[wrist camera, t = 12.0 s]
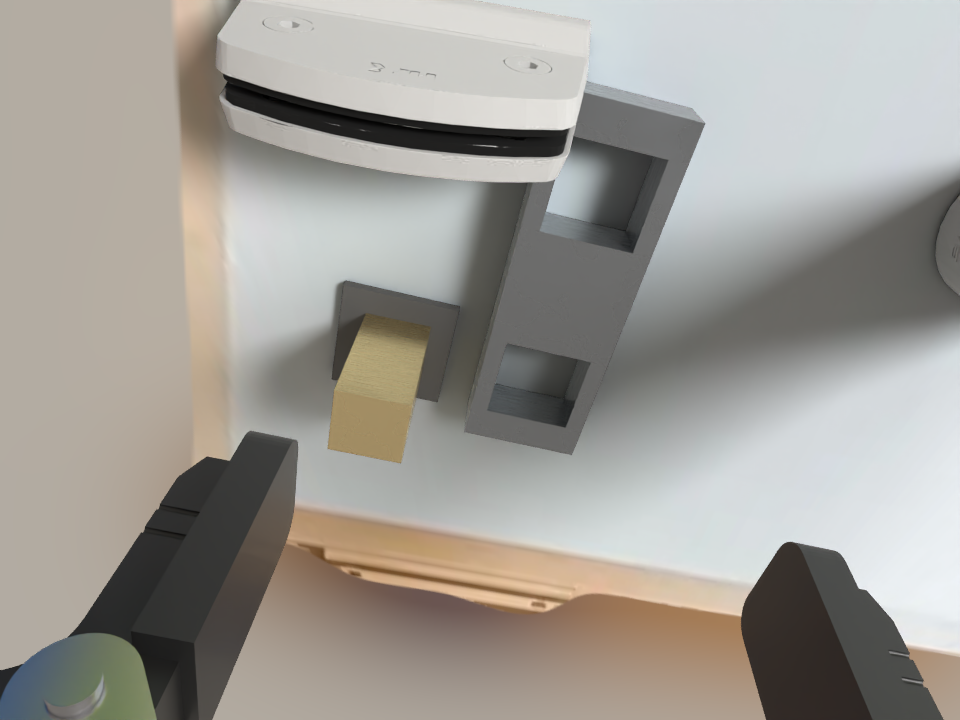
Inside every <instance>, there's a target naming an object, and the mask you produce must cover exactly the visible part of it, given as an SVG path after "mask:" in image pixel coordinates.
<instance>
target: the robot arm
mask: <svg viewBox="0 0 960 720" xmlns="http://www.w3.org/2000/svg"><path fill="white" fill-rule="evenodd" d="M935 258H936V262H937V267H938V271H939V273H940V275H941V276H942V278H943V280H944V281H945V283H946V284H947V285H948V286H949V287H950V288H951V289H952V290H954V291H955V292H956V293H957V294H958V295H959V296H960V195H959V196H958V198H957V199H956V200H955V201H954V203H953V204H952V205H951V207H950V208H949V210H948V212H947V214H946V216H945V218H944V220H943V222H942V224H941V226H940V230H939V233H938V237H937V240H936V254H935ZM297 458H298V442H297V440H294V439H289V438H284V437H279V436H274V435H269V434H264V433H259V432H254V431H249V432H248V433H247V434H246V435H245V436H244V438H243V440H242V441H241V443H240V445H239V446H238V448H237V450H236V452H235V453H234V455H233V457H232V458H231V460H230V461H227V460H222V459H217V458H212V457H205V458H204V459H203V460H201V461H200V462H198V463H197V464H196V465H194V466H193V467H191V468H190V469H189V470H187V471H186V472H185V473H183V474H182V475H180V476H179V477H178V478H177V479H176V481H175V482H174V484H173V485H172V487H171V488H170V490H169V491H168V493H167V494H166V496H165V497H164V499H163V500H162V502H161V504H160V507H159V509H158V510H156V511H155V512H154V514H153V515H152V517H151V519H150V520H149V521H148V523H147V524H146V526H145V530H144V532H143V533H141V534H140V535H139V537H138V538H137V539H136V541H135V542H134V544H133V545H132V547H131V549H130V550H129V552H128V553H127V555H126V556H125V558H124V559H123V561H122V562H121V564H120V565H119V567H118V568H117V570H116V571H115V573H114V574H113V576H112V577H111V579H110V580H109V582H108V583H107V585H106V586H105V588H104V589H103V591H102V592H101V594H100V595H99V597H98V598H97V600H96V601H95V603H94V604H93V606H92V607H91V609H90V610H89V612H88V613H87V615H86V616H85V618H84V619H83V620H82V622H81V623H80V624H79V626H78V627H77V628H76V629H75V630H74V632H72V633H71V634H70V635H69V636H68V637H67V638H65V639H62V640H60V641H57V642H55V643H53V644H51V645H49V646H47V647H45V648H43V649H42V650H41V651H39V652H37V653H36V654H35V655H33V656H32V657H31V658H29V659H28V660H27V661H26V662H25V663H24V664H21V665H19V666H15V667H12V668H9V669H5V670H0V720H212V719H213V716H214V714H215V711H216V709H217V707H218V704H219V702H220V699H221V697H222V695H223V692H224V690H225V687H226V685H227V682H228V680H229V678H230V675H231V673H232V671H233V667H234V665H235V663H236V661H237V659H238V656H239V654H240V651H241V649H242V647H243V644H244V642H245V639H246V637H247V635H248V632H249V630H250V627H251V625H252V622H253V620H254V618H255V615H256V613H257V610H258V608H259V605H260V603H261V601H262V598H263V596H264V594H265V591H266V589H267V587H268V584H269V582H270V579H271V577H272V575H273V572H274V570H275V567H276V565H277V562H278V560H279V558H280V555H281V553H282V551H283V548H284V546H285V543H286V540H287V537H288V534H289V531H290V527H291V523H292V518H293V513H294V504H295V489H296V473H297ZM741 630H742V636H743V640H744V644H745V647H746V651H747V654H748V657H749V661H750V664H751V668H752V671H753V675H754V679H755V682H756V686H757V689H758V693H759V696H760V700H761V703H762V707H763V710H764V714H765V717H766V720H943V718H942V716H941V714H940V712H939V710H938V708H937V706H936V704H935V702H934V700H933V698H932V696H931V694H930V692H929V690H928V688H926V687H923V679H922V677H921V675H920V673H919V671H918V669H917V667H916V665H915V663H914V661H913V660H910V659H909V654H910V653H909V651H908V649H907V647H906V645H905V643H904V641H903V639H902V637H901V635H900V633H899V631H898V629H897V627H896V626H895V624H894V622H893V620H892V619H891V618H890V617H889V616H888V614H887V613H886V612H885V611H884V610H883V609H882V608H881V606H880V605H879V604H878V603H877V602H876V601H875V600H874V598H873V597H872V596H871V595H870V594H869V593H868V592H867V590H862V589H859V588H858V586H857V584H856V582H855V580H854V578H853V576H852V574H851V572H850V570H849V568H848V566H847V564H846V562H845V560H844V558H843V557H842V556H841V554H839V553H838V552H836V551H833V550H829V549H824V548H819V547H814V546H809V545H804V544H799V543H794V542H787V543H785V544H783V545H782V546H781V547H780V548H779V550H778V551H777V553H776V554H775V556H774V557H773V559H772V560H771V562H770V563H769V565H768V566H767V568H766V569H765V571H764V572H763V574H762V575H761V577H760V578H759V580H758V582H757V583H756V585H755V586H754V588H753V589H752V591H751V592H750V594H749V595H748V597H747V599H746V601H745V603H744V606H743V610H742V617H741Z"/></svg>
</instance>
